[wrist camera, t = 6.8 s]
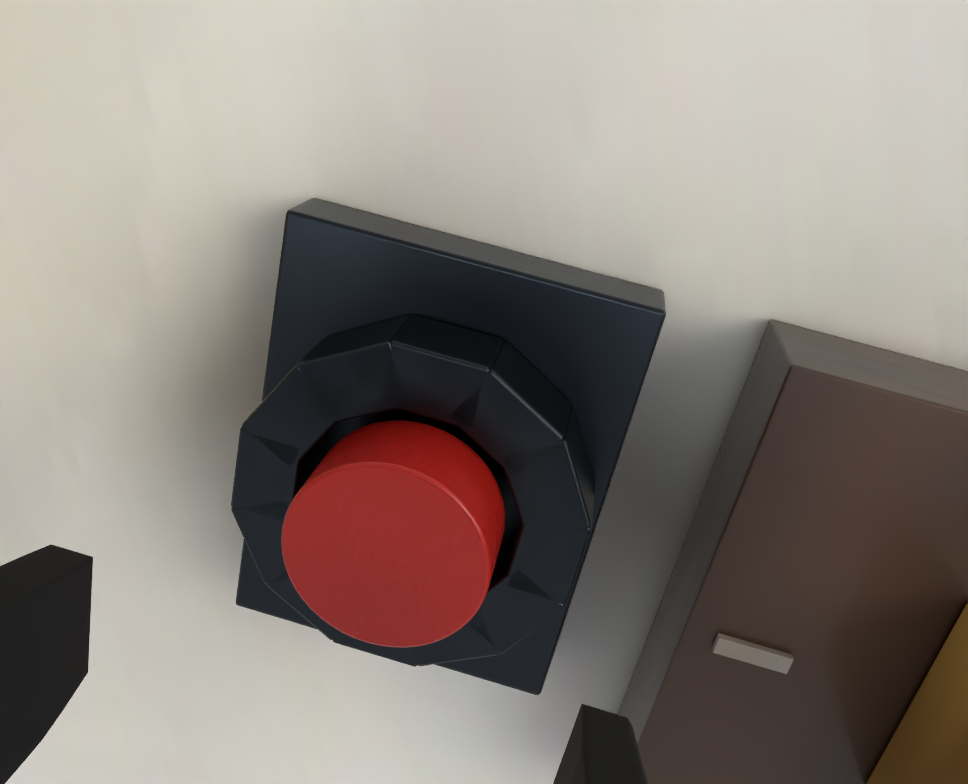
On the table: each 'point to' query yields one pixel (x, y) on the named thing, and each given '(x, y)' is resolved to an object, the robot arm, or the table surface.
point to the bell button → (395, 534)
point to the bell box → (447, 408)
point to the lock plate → (810, 570)
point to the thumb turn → (934, 723)
